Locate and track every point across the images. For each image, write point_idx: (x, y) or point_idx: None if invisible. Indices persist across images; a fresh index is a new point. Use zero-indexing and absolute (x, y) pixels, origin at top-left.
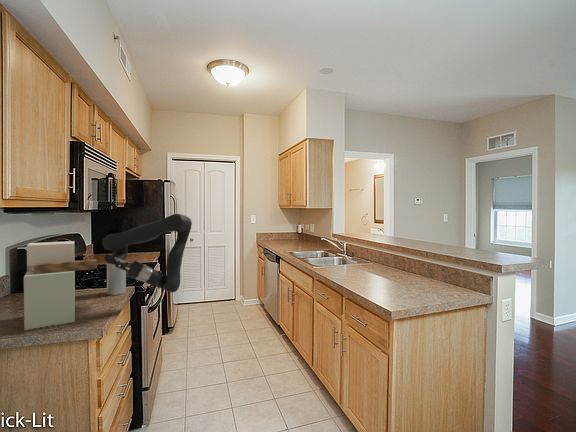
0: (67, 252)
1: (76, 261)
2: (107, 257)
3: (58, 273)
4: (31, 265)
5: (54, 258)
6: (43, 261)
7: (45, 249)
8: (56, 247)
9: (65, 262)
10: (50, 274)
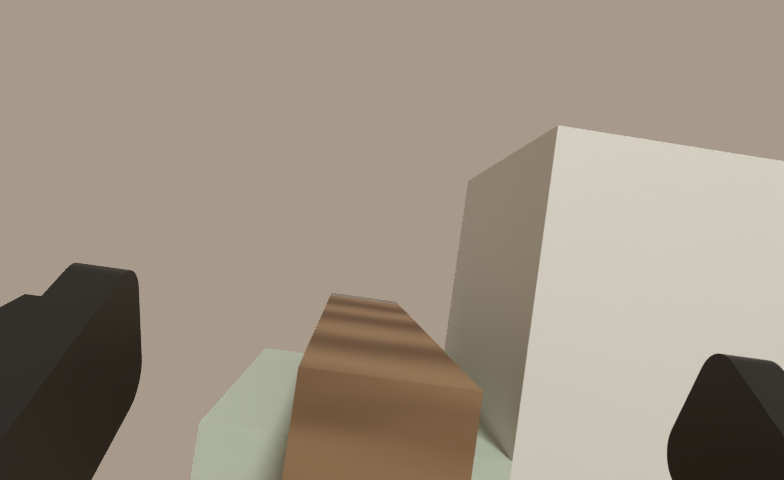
0: (521, 244)
1: (376, 332)
2: (75, 280)
3: (233, 388)
4: (337, 295)
5: (487, 297)
6: (468, 311)
7: (484, 208)
8: (506, 188)
9: (359, 318)
10: (240, 377)
